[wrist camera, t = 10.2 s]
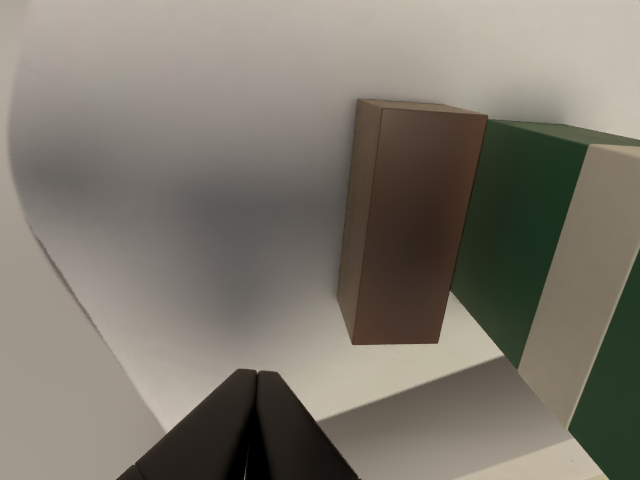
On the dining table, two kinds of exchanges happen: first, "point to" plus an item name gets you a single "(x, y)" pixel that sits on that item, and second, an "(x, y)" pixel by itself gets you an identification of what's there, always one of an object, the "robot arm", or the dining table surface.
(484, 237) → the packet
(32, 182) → the dining table surface
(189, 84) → the dining table surface
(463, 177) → the block
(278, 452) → the robot arm
